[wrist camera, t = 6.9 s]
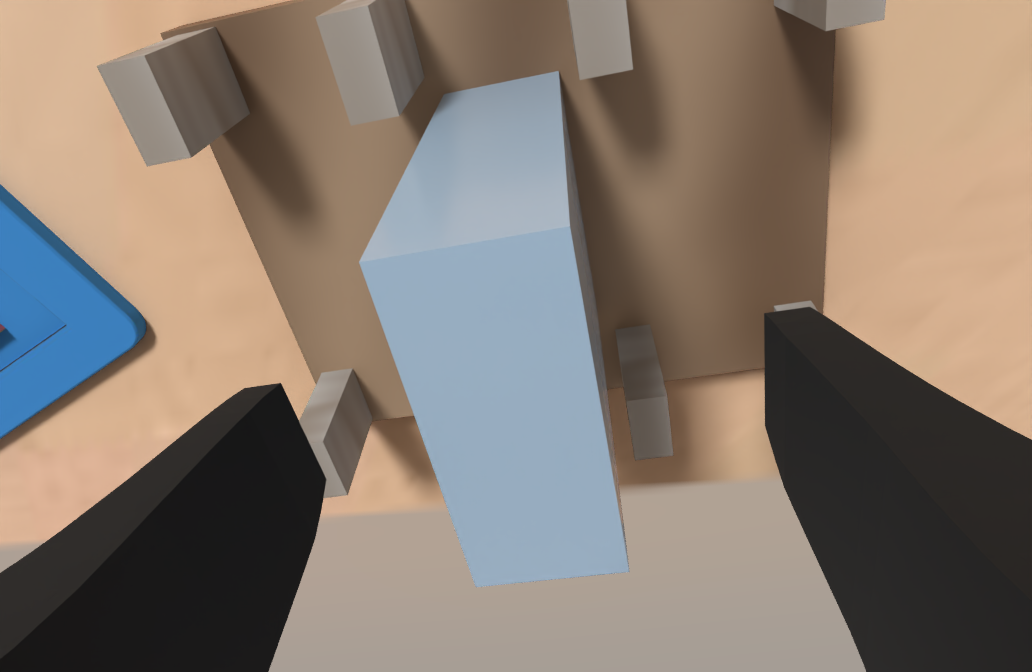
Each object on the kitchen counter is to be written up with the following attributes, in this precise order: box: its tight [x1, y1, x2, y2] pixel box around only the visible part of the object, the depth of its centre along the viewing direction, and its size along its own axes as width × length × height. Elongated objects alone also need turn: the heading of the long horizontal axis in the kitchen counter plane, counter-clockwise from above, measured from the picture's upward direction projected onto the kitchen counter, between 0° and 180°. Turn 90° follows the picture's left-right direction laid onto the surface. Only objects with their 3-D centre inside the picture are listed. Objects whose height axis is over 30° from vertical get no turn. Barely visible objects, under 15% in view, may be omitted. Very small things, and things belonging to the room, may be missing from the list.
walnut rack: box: [97, 0, 886, 498], centre depth 15 cm, size 14×11×4 cm
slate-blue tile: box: [359, 71, 629, 587], centre depth 13 cm, size 2×6×8 cm, turn 11°
